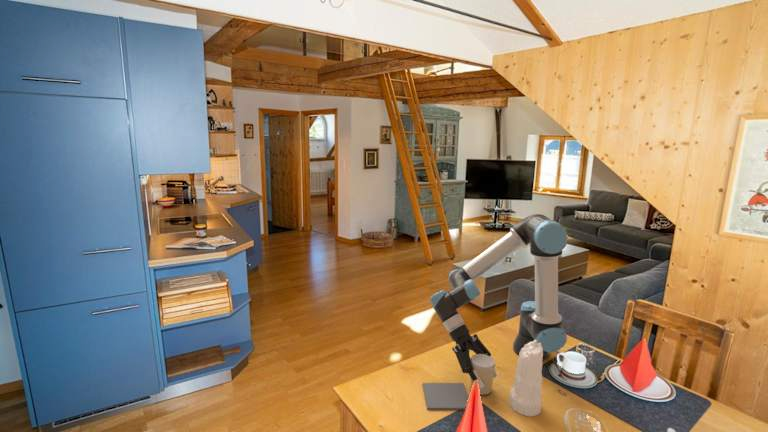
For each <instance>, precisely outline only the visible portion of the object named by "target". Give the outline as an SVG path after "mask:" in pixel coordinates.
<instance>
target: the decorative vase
mask: <svg viewBox="0 0 768 432" xmlns="http://www.w3.org/2000/svg"><path fill="white" fill-rule="evenodd" d="M542 358H543V348H542V347H541V343H538V344H537V340H534V341H532V342H529V343H528V344H525V345H524V347H523V348H522V349H521V351H520V352H519V355H518V360H517V362H516V366H515V376H514V379H513V387H511V389H510V391H509V401H508V402H509V405H510V407H511V408H512V410H513V411H514V412H516V413H518V414H519V415H522V416H526V417H535V416H537V415H539V414H541V411H542V404H543V403H542V402H543V396H542V388H543V387H542V385H543V373H542V371H543V360H542Z"/></svg>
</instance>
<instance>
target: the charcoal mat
mask: <svg viewBox="0 0 768 432" xmlns="http://www.w3.org/2000/svg"><path fill="white" fill-rule="evenodd" d="M422 389H423V395H424V400H425V405H426V410H431V411H432V410H435V411H436V410H439V411H441V410H443V411H444V410H445V411H446V410H451V411H452V410H453V411H454V410H455V411H457V410H458V411H459V410H460V411H461V410H465V407H466V404H467V400H468V398H469V395H468V393H467V389H466V386H465V384H464V382H422Z"/></svg>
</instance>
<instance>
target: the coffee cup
mask: <svg viewBox="0 0 768 432" xmlns="http://www.w3.org/2000/svg"><path fill="white" fill-rule="evenodd" d="M470 360H471V364H472V368H473V370H475V371H476V372H477V374H478V376H479V377H480V379H481V381H482V382H483V384H484V387H483V388H480V393H481V394H480V395H482V396H483V395H484V396H485V395H488V394H490V393H491V391H492V388H493V382H494V378H493V376H494V369H495V368H496V361H495V359H494V358H493V357H492V356H491V357H490V356H488V355H485V354H476V353H474V354H473V355H472V356H471V357H470ZM495 370H496V369H495ZM469 377H470V376H469ZM473 383H474V381H473V380H472V378H471V377H470V389H471V388H472V385H473Z"/></svg>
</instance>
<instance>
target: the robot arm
mask: <svg viewBox="0 0 768 432" xmlns="http://www.w3.org/2000/svg"><path fill="white" fill-rule="evenodd" d="M567 243H568V234H567V231H566V229H565V227H564V226H563V225H561V224H560V222H558V221H555V220H553V219H551V218H550V217H547V216H546V215H544V214H538V213H537V214H531V215H528V216H526V217H524V218H523V219H521V220H519V221H518V222H517V223H515V224H514V225H513V226H511V227H510V228H509V232H508V233H506V234H505V235H504V236H503V237H500V239H498V240H497V241H496V242H494V243H493V244H492V245H490V246H489V247H487V249H485V250H483V252H480V254H478V255H477V256H476V257H474V258H473V259H472V260H471V261H469V262H468V263H467V264H465V265H463V266H462V267H461V268H460V269H457V268H456V269H453V270H452V271H450V272H449V275H448V282H449V285H450V286H451V290H449V291H446V290H444V289H442V290H439V291H438V292H436V293H434V294H433V295H431V296H430V298H429V302H430V304H431V305H432V307H433V310H434V311H435V313H436V315H437V316H438V318H439V319H440V321H441V323H442V325H443V326H444V328H445V329H446V331H447V332H448V333H449V334H448V335H449V336H450V338H451V340H452V341H453V342H455V344H456V345H455V346H453V347H452V348H451V349H452V351H453V353H454V354H455V357H456V359H457V361H458V364H459V366H460V369H461V372H462V373H463V374H465V375H466V374H467V375H469V377H471V378H472V380H473V381H475V380H478V384H479V389H480V388H483V387H484V384H483V382H482V381H481V379H480V377H479V376H478V374H477V372H476V371H475V370H473V368H472V364H471V360H470V359H471V357H470V351H472V352H473V353H474V354H485V355H488V356H490V357H492V353H491V352H490V351H489V349H488V348H487V347H486V346H485V345H484V343H483V342H482V341H481V340H480V338H479V336H478V335H477V333H474V334H473V335H471V334H470V329H469V328H468V326H467V325H466V324H465V321H464V319H463V318H462V316H461V315H460V313H459V312H458V309H460V308H461V307H464V305H466V304H469V303H470V302H471V301H474V300H476V298H479V296H480V295H481V291H480V288H478V286H477V285H476V283H475V281H476V280H478V279H479V278H480V277H481V276H483V275H484V274H486V273H487V272H489V271H490V270H491V269H492V268H494V267H495V266H496V265H498V264H499V263H501V262H502V261H504V259H506V258H508V257H509V256H510V255H512V254H513V253H514V252H516V251H518V249H520V248H521V247H527V246H528V245H529V246H530V247H529V249H530V250H529V251H530V254H531V255H532V256H533V258H534V300H531V301H530V300H528V301H524V302H522V304H521V306H520V312H519V313H520V314H519V326H518V333H517V334H516V337H515V339H514V340H513V343H512V350H513V351H514V352H515V354H517V355H518V356H519V352H520V351H521V349H522V348H523V347H524V345H525V344H528V343H529V342H532V341H534V340H537V344H538V343H541V347H542V348H543V358H542V361H543V360H545V359H547V358H548V357H549V354H550V353H555V352H558V351H560V350H561V349H562V348H564V347H565V345H566V343H567V340H568V336H567V334H566V331H565V330H564V329H563V316H562V315H561V314H560V313H559V258H560V257H561V256H562V255H563V249H564V248H565V247H566V246H567ZM498 376H499V374H498V372H497V370H496V369H494V376H493V379H494V378H496V377H498Z"/></svg>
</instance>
